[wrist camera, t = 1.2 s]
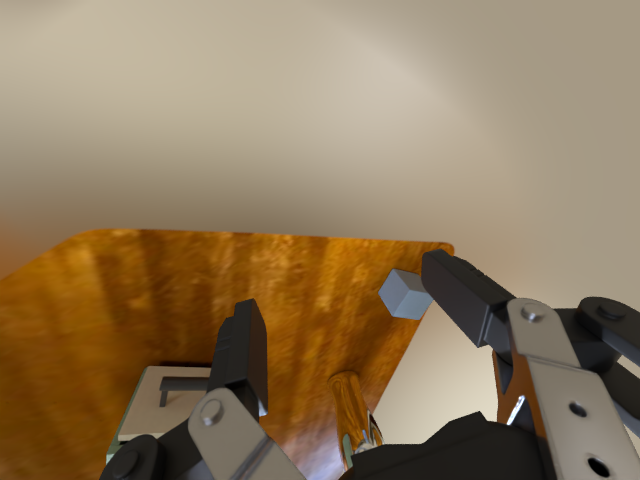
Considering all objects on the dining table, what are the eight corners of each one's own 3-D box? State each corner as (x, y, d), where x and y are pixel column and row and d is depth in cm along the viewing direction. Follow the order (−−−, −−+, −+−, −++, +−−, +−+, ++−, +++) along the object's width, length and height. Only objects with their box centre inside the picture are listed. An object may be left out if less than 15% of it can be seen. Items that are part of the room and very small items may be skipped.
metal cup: (354, 389, 47) (388, 495, 34) (320, 392, 45) (343, 506, 32) (364, 367, 44) (406, 474, 31) (329, 369, 42) (358, 485, 29)
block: (392, 268, 33) (410, 289, 29) (417, 273, 35) (437, 295, 31) (377, 292, 35) (392, 316, 31) (402, 297, 37) (418, 320, 33)
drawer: (151, 340, 29) (118, 409, 23) (244, 346, 33) (240, 406, 27) (141, 427, 38) (115, 497, 31) (217, 424, 42) (209, 485, 35)
